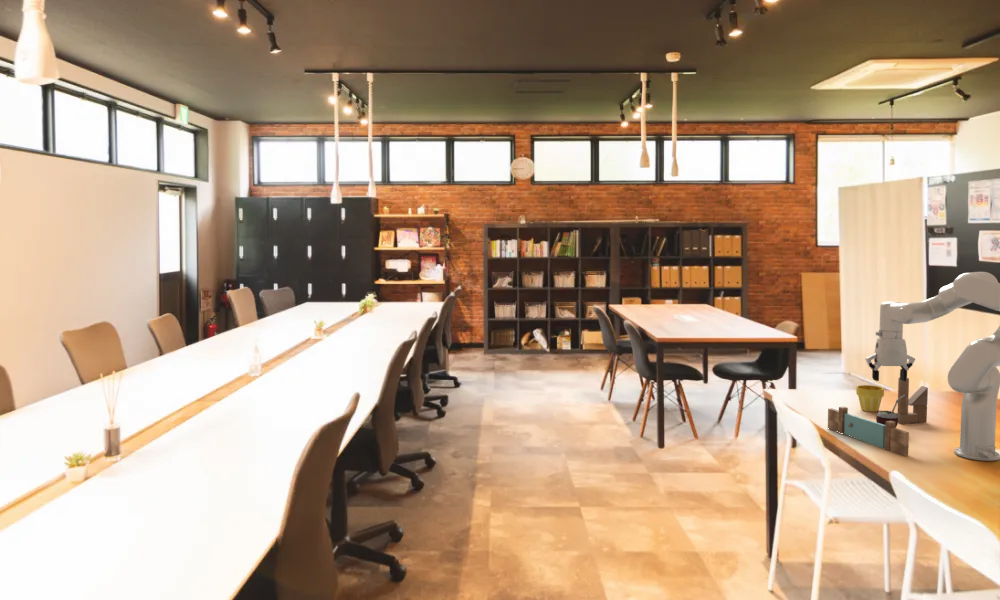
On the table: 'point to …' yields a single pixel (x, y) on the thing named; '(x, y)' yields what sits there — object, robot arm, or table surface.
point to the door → (865, 430)
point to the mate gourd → (888, 415)
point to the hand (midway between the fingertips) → (889, 380)
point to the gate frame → (893, 436)
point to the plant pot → (870, 397)
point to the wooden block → (912, 403)
